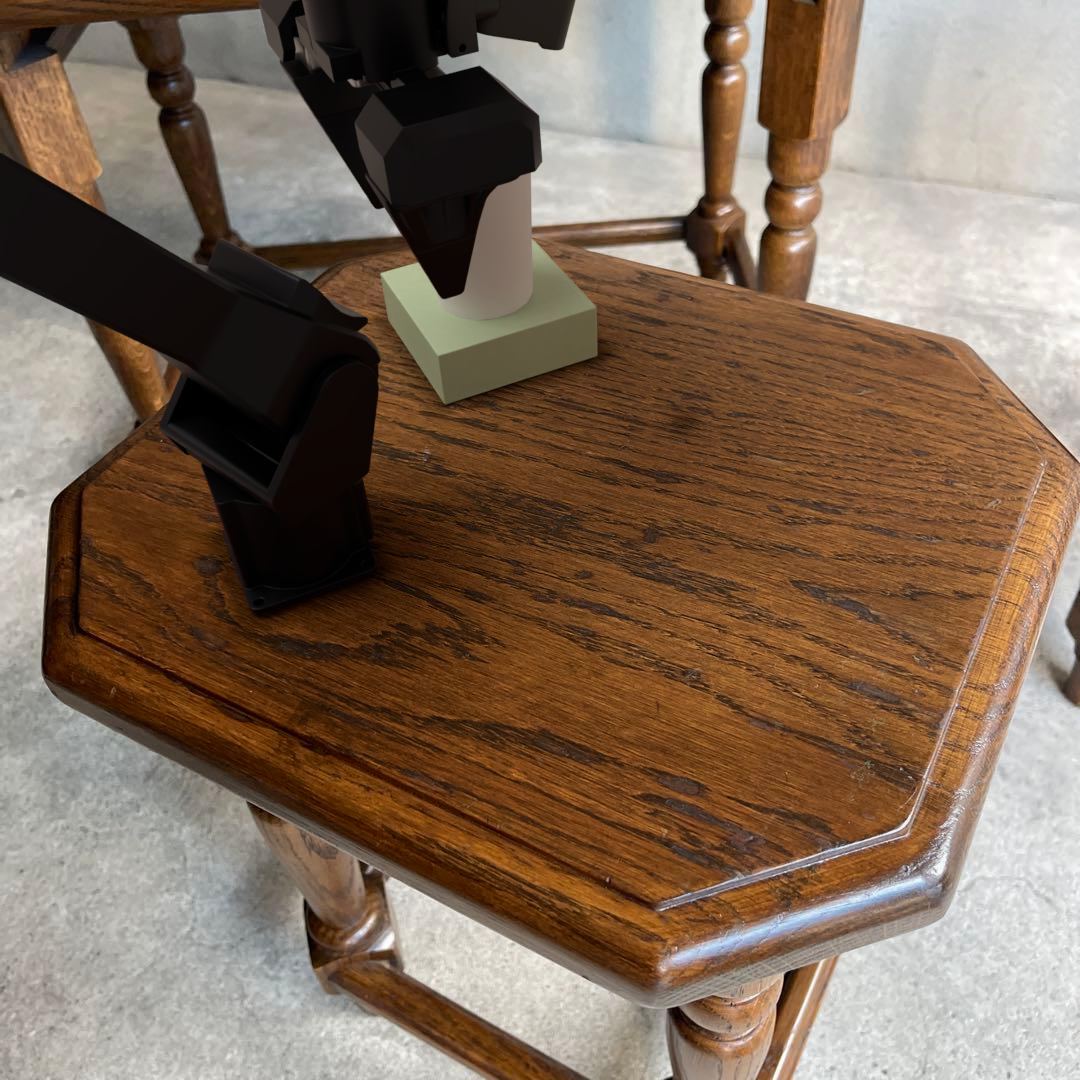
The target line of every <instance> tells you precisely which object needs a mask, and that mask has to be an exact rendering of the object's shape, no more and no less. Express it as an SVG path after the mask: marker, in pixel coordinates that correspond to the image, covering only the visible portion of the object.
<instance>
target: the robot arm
mask: <svg viewBox="0 0 1080 1080" xmlns="http://www.w3.org/2000/svg"><path fill="white" fill-rule="evenodd" d="M575 5H576V0H259V2H258V6H259V10H260V14H261V19H262V23H263V27H264V32H265V36H266V39H267V40H266V41H267V44H268V45H269V46H270V48H271V49H272V51H273V52H274V53H275V55H276V56H277V57H278V58H279V65H280V67H281V68H282V70H283V72H284V73H285V75H286V76H287V77H288V79H289V81H290V82H291V83H292V85H293V86H294V87H295V90H296V91H297V92H298V94H299V96H300V97H301V99H302V101H303V102H304V103H305V105H306V107H307V108H308V109H309V112H310V113H311V114H312V115H313V117H314V118H315V120H316V122H317V124H318V125H319V127H320V128H321V129H322V131H323V132H324V133H325V135H326V137H327V138H328V140H329V141H330V143H331V145H333V148H334V149H335V150H336V152H337V153H338V155H339V157H340V159H342V162H343V163H344V165H345V166H346V167H347V169H348V171H349V172H350V173H351V175H352V176H353V178H354V179H355V181H356V182H357V184H358V186H359V187H360V189H361V190H362V192H363V193H364V195H365V197H366V198H367V199H368V201H369V202H370V204H371V206H372V207H373V208H374V209H375V210H382V209H384V211H386V213H387V214H388V215H389V218H390V219H391V220H392V222H393V224H394V226H395V227H396V229H397V230H398V232H399V234H400V235H401V237H402V238H403V240H404V243H406V245H407V246H408V249H409V250H410V252H411V253H412V255H413V257H414V258H415V260H416V262H417V263H419V264H420V266H421V268H422V269H423V271H424V272H425V274H426V276H427V277H428V279H429V280H430V282H431V284H432V285H433V287H434V288H435V290H436V292H437V293H438V295H439V296H440V297H441V298H442V299H448V298H451V297H454V296H458V295H460V294H462V293H463V292H464V290H465V285H466V281H467V276H468V272H469V267H470V262H471V258H472V253H473V249H474V244H475V239H476V234H477V230H478V226H479V222H480V218H481V215H482V212H483V208H484V205H485V202H486V199H487V197H488V196H489V195H490V193H491V192H492V191H493V190H494V189H495V188H496V187H497V186H499V185H502V184H506V183H509V182H512V181H514V180H516V179H518V178H519V177H520V176H521V175H525V174H528V173H531V174H532V173H535V172H536V171H537V170H538V169H539V168H540V166H541V165H542V163H543V150H542V137H541V135H542V134H541V122H540V121H541V120H540V114H538V113H537V112H536V111H535V110H534V109H533V108H532V107H530V105H528V104H527V103H526V102H525V101H524V100H523V99H522V98H520V97H519V96H518V95H517V94H516V93H515V92H514V91H513V90H512V89H511V88H510V87H509V86H508V85H506V83H504V82H503V81H501V79H499V78H497V77H496V76H495V75H493V74H492V73H490V71H488V70H487V69H485V67H483V66H481V65H476V66H473V67H468V68H465V69H461V70H457V71H454V72H453V71H452V72H449V73H446V72H444V70H443V69H441V67H440V66H439V64H440V62H439V58H440V57H443V56H448V57H450V58H451V59H456V58H459V57H463V56H467V55H472V54H475V53H478V52H480V49H479V38H478V34H480V35H484V36H489V37H495V38H502V39H507V40H508V39H509V40H513V41H520V42H521V41H522V42H528V43H535V44H538V46H539V47H540V49H542V50H548V51H561V50H564V48H565V43H566V39H567V36H568V32H569V28H570V25H571V20H572V15H573V12H574V8H575ZM0 278H2V279H4V280H6V281H8V282H10V283H12V284H14V285H17V286H18V287H21V288H22V289H25V290H27V291H29V292H32V293H34V294H35V295H37V296H40V297H41V298H44V299H46V300H48V301H50V302H53V303H54V304H57V305H58V306H61V307H63V308H65V309H68V310H69V311H72V312H74V313H75V314H78V315H80V316H83V317H85V318H87V319H88V320H90V321H92V322H95V323H97V324H99V325H102V326H103V327H106V328H107V329H110V330H112V331H114V332H116V333H118V334H120V335H123V336H125V337H126V338H128V339H131V340H133V341H135V342H137V343H139V344H141V345H144V346H146V347H148V348H149V349H152V350H154V351H155V352H156V353H157V354H159V356H161V358H163V360H165V361H166V362H167V363H169V365H171V366H172V367H173V368H175V369H176V370H178V371H179V372H180V375H179V377H178V379H177V382H176V384H175V387H174V388H173V392H172V393H171V396H170V398H169V400H168V402H167V405H166V407H165V410H164V412H163V414H162V416H161V419H160V421H159V424H158V429H159V431H160V433H162V435H163V436H165V438H167V440H168V441H170V443H171V444H173V445H174V447H176V449H177V450H178V451H180V452H181V453H183V454H184V455H186V456H190V457H191V458H193V459H195V460H196V461H198V462H199V463H201V465H200V466H201V469H202V472H203V475H204V478H205V480H206V484H207V486H208V489H209V491H210V495H211V497H212V501H213V503H214V506H215V509H216V511H217V515H218V517H219V520H220V523H221V526H222V528H223V530H222V531H221V535H222V538H223V540H224V543H225V546H226V549H227V551H228V553H229V557H230V559H231V562H232V564H233V567H234V570H235V572H236V575H237V578H238V580H239V583H240V586H241V589H242V591H243V595H244V597H245V599H246V603H247V605H248V607H249V610H250V612H251V613H252V615H254V616H264V615H266V614H270V613H272V612H275V611H277V610H280V609H283V608H285V607H288V606H291V605H294V604H297V603H300V602H303V601H306V600H309V599H311V598H314V597H317V596H319V595H323V594H325V593H327V592H330V591H334V590H337V589H340V588H342V587H345V586H347V585H351V584H353V583H356V582H360V581H363V580H364V579H367V578H369V577H372V576H374V575H376V574H377V573H378V572H379V570H380V569H379V563H378V560H377V558H376V555H375V553H374V552H373V550H372V548H371V545H370V544H369V542H368V541H371V540H373V539H374V537H375V535H376V532H375V527H374V522H373V518H372V514H371V509H370V503H369V501H368V495H367V490H366V486H365V482H364V477H366V476H367V475H368V474H369V472H370V468H371V461H372V453H373V445H374V444H373V443H374V435H375V426H376V417H377V409H378V403H379V401H378V400H379V390H380V388H379V387H380V386H379V376H380V371H379V364H380V363H381V360H382V355H381V353H380V350H379V349H378V346H377V345H376V344H375V343H374V342H373V341H372V340H371V339H370V338H369V336H367V335H366V334H364V333H362V332H360V330H362V329H363V328H365V326H367V325H368V323H369V318H368V317H367V316H365V315H363V314H362V313H359V312H357V311H355V310H353V309H351V308H349V307H347V306H345V305H343V304H341V303H340V302H338V301H335V300H333V299H331V298H330V297H327V296H326V295H324V293H323V292H321V290H319V289H318V288H317V287H315V286H314V285H313V284H312V283H311V282H309V281H308V280H307V279H305V278H303V277H301V276H299V275H298V274H297V275H296V274H295V273H293V272H290V271H289V270H287V269H286V268H283V267H280V266H279V265H276V264H274V263H272V262H270V261H268V260H266V259H264V258H262V257H260V256H258V255H257V254H254V253H252V252H250V251H248V250H246V249H244V248H242V247H240V246H238V245H237V244H234V243H232V242H231V241H229V240H226V239H224V238H222V237H219V238H217V240H216V243H215V246H214V249H213V251H212V255H211V258H210V259H209V262H208V265H204V264H200V263H194V262H189V261H187V260H186V259H184V258H182V257H180V256H179V255H177V254H176V253H173V252H172V251H171V250H168V249H167V248H165V247H164V246H162V245H160V244H158V243H157V242H155V241H154V240H151V239H150V238H149V237H146V236H145V235H143V234H141V233H139V232H138V231H136V230H134V229H132V228H131V227H130V226H128V225H126V224H124V223H122V222H120V221H119V220H117V219H116V218H114V217H112V216H110V215H109V214H107V213H105V212H104V211H102V210H100V209H98V208H97V207H95V206H93V205H92V204H90V203H88V202H86V201H85V200H83V199H81V198H80V197H78V196H76V195H74V194H73V193H71V192H70V191H67V190H66V189H64V188H62V187H61V186H59V185H58V184H56V183H54V182H53V181H50V180H49V179H47V178H45V177H44V176H42V175H40V174H38V173H37V172H36V171H33V170H31V168H28V167H27V166H25V165H23V164H22V163H20V162H18V161H16V160H15V159H13V158H11V157H10V156H9V155H6V154H5V153H2V151H0Z"/></svg>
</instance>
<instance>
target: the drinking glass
mask: <svg viewBox="0 0 1080 1080" xmlns="http://www.w3.org/2000/svg"><path fill="white" fill-rule="evenodd" d="M532 218H533V217H532V173H528V174H525V175H521V176H520V177H519V178H518V179H516V180H514V181H512V182H509V183H506V184H502V185H499V186H497V187H496V188H495V189H494V190H493V191H492V192H491V193H490V195H489V196H488V197H487V199H486V202H485V205H484V208H483V212H482V215H481V218H480V222H479V226H478V230H477V234H476V239H475V244H474V249H473V253H472V258H471V262H470V267H469V272H468V276H467V281H466V285H465V290H464V292H463V293H462V294H460V295H458V296H454V297H451V298H448V299H442V298H441V297H440V296H439V295H438V293H437V292H436V294H437V299H438V303H439V304H440V305H441V307H442V308H443V309H444V310H445V311H446V312H448V313H450V314H452V315H455V316H457V317H459V318H465V319H473V320H486V319H495V318H500V317H503V316H506V315H509V314H511V313H514V312H516V311H517V310H519V309H520V308H522V307H523V306H524V305H526V304H527V303H528V301H529V299H530V297H531V295H532V293H533V277H532V239H533V224H532V223H533V221H532Z"/></svg>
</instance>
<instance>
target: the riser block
mask: <svg viewBox="0 0 1080 1080" xmlns="http://www.w3.org/2000/svg"><path fill="white" fill-rule="evenodd" d="M532 277H533V293H532V295H531V297H530V299H529V301H528V303H527V304H526V305H524V306H523V307H522V308H520V309H519V310H517V311H516V312H514V313H511V314H509V315H506V316H503V317H500V318H495V319H486V320H473V319H465V318H459V317H457V316H455V315H452V314H450V313H448V312H446V311H445V310H444V309H443V308H442V307H441V305H440V304H439V303H438V299H437V294H436V290H435V288H434V287H433V285H432V284H431V282H430V280H429V279H428V277H427V276H426V274H425V272H424V271H423V269H422V268H421V266H420V264H419V263H418V262H414V263H411V264H407V265H404V266H400V267H397V268H393V269H390V270H386V271H382V272H380V280H381V285H382V292H383V298H384V303H385V308H386V315H387V320H388V322H389V323H390V325H391V326H392V328H393V330H394V332H396V334H397V335H398V337H399V339H400V340H401V341H402V343H403V344H404V346H405V347H406V349H407V351H408V352H409V353H410V355H411V357H412V359H414V361H415V362H416V363H417V365H418V367H419V369H420V370H421V371H422V373H423V374H424V376H425V377H426V379H427V380H428V382H429V383H430V385H431V387H432V388H433V389H434V390H435V391H434V392H436V393H437V395H438V397H439V398H440V400H441V401H442V402H443V403H442V404H444V405H448V404H452V403H455V402H458V401H461V400H464V399H467V398H471V397H474V396H478V395H480V394H484V393H486V392H489V391H492V390H496V389H499V388H502V387H505V386H508V385H511V384H514V383H517V382H521V381H524V380H527V379H530V378H534V377H536V376H540V375H542V374H546V373H549V372H553V371H555V370H558V369H561V368H565V367H567V366H570V365H573V364H578V363H580V362H584V361H586V360H589V359H593V358H596V357H598V308H597V306H596V305H595V304H594V302H593V301H591V300H590V298H588V296H587V295H586V294H585V293H584V292H583V291H582V290H581V289H580V288H579V286H577V284H576V283H575V282H574V281H573V280H572V279H571V278H570V277H569V276H568V275H567V274H566V272H565V271H563V269H562V268H561V267H560V265H558V264H557V263H556V262H555V261H554V260H553V259H552V258H551V256H549V254H547V252H546V251H545V250H544V249H543V248H542V247H541V245H539V244H538V242H536V241H535V239H533V238H532Z"/></svg>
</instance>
